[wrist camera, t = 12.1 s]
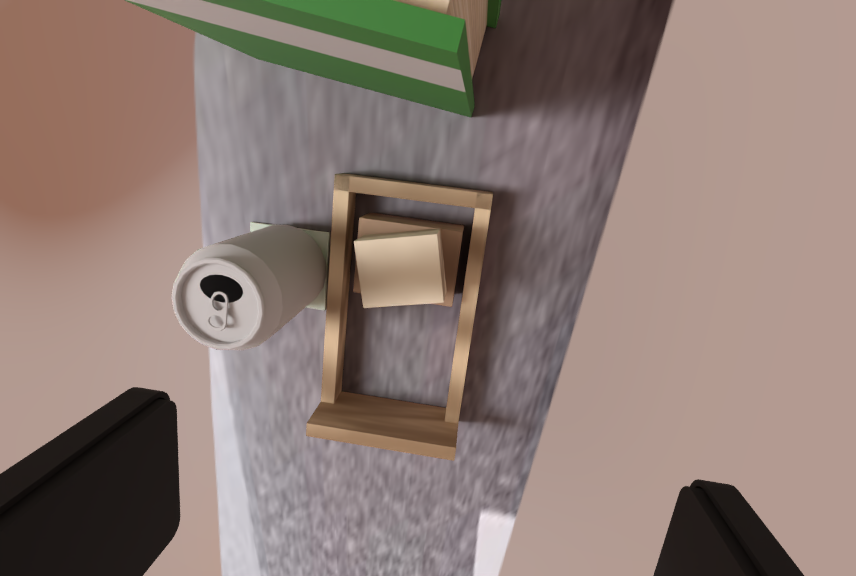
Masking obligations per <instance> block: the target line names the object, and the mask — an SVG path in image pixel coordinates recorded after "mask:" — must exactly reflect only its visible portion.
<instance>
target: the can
mask: <svg viewBox="0 0 856 576" xmlns="http://www.w3.org/2000/svg"><path fill="white" fill-rule="evenodd" d="M326 276H327V274H326V261H325V258H324V256H323V253H322V251H321V248H320V247H319V246H318V245H317V243H316V242H315V241H314V239H313V238H312V237H311V236H309V235H308V234H307V233H305V232H304V231H302V230H301V229H299V228H296V227H293V226H290V225H271V226H268V227H265V228H262V229H259V230H256V231H253V232H250V233H247V234H243V235H240V236H237V237H234V238H231V239H228V240H225V241H222V242H219V243H216V244H213V245H210V246H207V247H204V248H201V249H198V250H197V251H196V252H195V253H193V254H192V255H191V256H190V257H189V258H187V259H186V261H185V263H184V264H183V266H182V268H181V270H180V272H179V274H178V276H177V278H176V280H175V282H174V285H173V291H172V303H173V309H174V312H175V315H176V317H177V319H178V321H179V323H180V325H181V326H182V327H183V328H184V329H185V331H186V332H187V333H188V334H189V335H190V336H191V337H192V338H194V339H195V340H197V341H198V342H200V343H201V344H202V345H205V346H208V347H211V348H214V349H218V350H246V349H249V348H253V347H256V346H259V345H260V344H262V343H263V342H264V341H266V340H267V339H269V338H270V337H271V336H272V335H274V334H275V333H276V332H277V331H278V330H279V329H281V328H282V327H283V326H284V325H285V324H286V323H288V322H289V321H290V320H291V319H292V318H293V317H295V316H296V315H297V314H298V313H299V312H300V311H302V310H303V309H304V308H305V307H306V306H307V305H309V304H310V303H311V302H312V301H313V300H314V299H316V298H317V296H318V295H319V293H320V292H321V290H322V289H323V287H324V283H325V279H326Z"/></svg>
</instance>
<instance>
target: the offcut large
mask: <svg viewBox="0 0 856 576" xmlns="http://www.w3.org/2000/svg"><path fill="white" fill-rule="evenodd" d="M437 228H441V239H442V249H443V259H444V270H445V280H446V290H447V292H446V296H445V300H444V303H430V304H437V305H443V306H450V307H452V303H453V298H454V292H455V285H456V279H457V272H458V265H459V258H460V251H461V244H462V237H463V230H464V225H458V224H451V223H444V222H437V221H429V220H422V219H415V218H408V217H400V216H393V215H386V214H379V213H371V212H370V213H368V214H366V215H364V216H362V217H360V218H359V227H358V238H360V237H361V236H363V235H369V234H380V233H391V232H403V231H414V230H425V229H437ZM353 292H357V293H361V288H360V282H359V275H358V268H357V261H356V264H355V276H354V288H353Z"/></svg>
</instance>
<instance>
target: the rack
mask: <svg viewBox="0 0 856 576" xmlns="http://www.w3.org/2000/svg"><path fill="white" fill-rule="evenodd" d="M356 193H363V194H371V195H378V196H386V197H394V198H401V199H409V200H417V201H425V202H432V203H440V204H448V205H455V206H463V207H471V208H475V212H474V219H473V226H472V233H471V240H470V247H469V254H468V261H467V268H466V275H465V282H464V289H463V296H462V303H461V310H460V317H459V324H458V331H457V338H456V345H455V352H454V359H453V366H452V372H451V379H450V386H449V393H448V400H447V407H446V408H444V407H437V406H431V405H425V404H419V403H412V402H406V401H400V400H394V399H387V398H381V397H375V396H369V395H362V394H356V393H350V392H344V391H342V377H343V364H344V350H345V337H346V323H347V310H348V296H349V283H350V269H351V256H352V242H353V229H354V215H355V202H356ZM492 198H493V193H492V192H487V191H479V190H472V189H464V188H456V187H448V186H440V185H432V184H424V183H416V182H408V181H401V180H393V179H385V178H377V177H369V176H361V175H353V174H345V173H341V174H335V180H334V197H333V213H332V229H331V245H330V262H329V278H328V294H327V311H326V327H325V343H324V360H323V376H322V392H321V402H320V404H319V405H318V407H317V408H316V410H315V412H314V413H313V415H312V416H311V418H310V419H309V421H308V422H307V430H306V436H310V437H316V438H322V439H328V440H334V441H340V442H346V443H352V444H358V445H364V446H370V447H376V448H382V449H388V450H394V451H400V452H406V453H412V454H418V455H423V456H429V457H435V458H441V459H447V460H453V461H454V458H455V451H456V442H457V431H458V421H459V414H460V408H461V401H462V395H463V388H464V382H465V375H466V369H467V362H468V356H469V349H470V342H471V336H472V329H473V323H474V316H475V310H476V303H477V297H478V290H479V283H480V277H481V270H482V264H483V257H484V251H485V244H486V238H487V231H488V225H489V218H490V211H491V205H492Z"/></svg>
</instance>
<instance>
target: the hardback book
mask: <svg viewBox="0 0 856 576" xmlns="http://www.w3.org/2000/svg"><path fill="white" fill-rule="evenodd" d="M125 1H128V2H130V3H132V4H135V5H137V6H139V7H141V8H143V9H146V10H148V11H150V12H153V13H155V14H157V15H159V16H162V17H164V18H166V19H168V20H171V21H173V22H175V23H178V24H180V25H182V26H184V27H186V28H189V29H191V30H193V31H195V32H198V33H200V34H202V35H204V36H207V37H209V38H211V39H213V40H216V41H218V42H220V43H223V44H225V45H227V46H229V47H232V48H234V49H236V50H238V51H241V52H243V53H245V54H247V55H250V56H252V57H254V58H256V59H259V60H263V61H267V62H270V63H274V64H278V65H281V66H285V67H289V68H292V69H296V70H300V71H303V72H307V73H311V74H314V75H318V76H322V77H325V78H329V79H332V80H336V81H340V82H343V83H347V84H351V85H354V86H358V87H362V88H365V89H369V90H373V91H376V92H380V93H384V94H387V95H391V96H395V97H398V98H402V99H406V100H409V101H413V102H417V103H420V104H424V105H428V106H431V107H435V108H439V109H442V110H446V111H449V112H453V113H457V114H460V115H464V116H468V117H472V113H473V110H474V106H475V103H474V94H473V85H472V78H473V74H474V71H475V67H476V63H477V59H478V56H479V52H480V48H481V45H482V41H483V37H484V33H485V30H486V26H489V27H493V28H496V26H497V22H498V18H499V15H500V7H501V0H125Z"/></svg>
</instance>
